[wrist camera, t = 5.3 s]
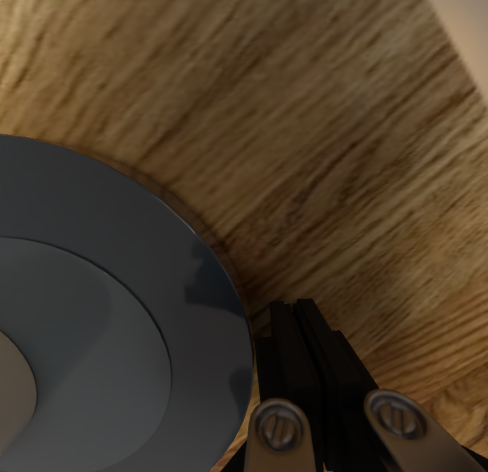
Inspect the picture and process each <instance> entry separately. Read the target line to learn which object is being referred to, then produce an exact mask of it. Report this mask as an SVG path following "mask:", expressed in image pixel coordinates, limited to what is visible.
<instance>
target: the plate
mask: <svg viewBox="0 0 488 472" xmlns="http://www.w3.org/2000/svg"><path fill="white" fill-rule="evenodd" d="M0 331H1V332H2V333H3V334H5V335H6V336H7V337H8V338H9V339H10V340H11V341H12V342H13V343H14V344H15V345H16V346H17V348H18V349H19V350H20V351H21V353H22V354H23V355H24V357H25V359H26V360H27V362H28V364H29V366H30V368H31V370H32V372H33V375H34V379H35V382H36V389H37V401H36V406H35V410H34V413H33V415H32V418H31V420H30V422H29V423H28V425H27V426H26V427H25V429H24V430H23V431H22V432H21V433H20V435H19V436H18V437H17V438H16V439H15V440H14V442H13V443H12V444H11V445H10V446H9V447H8V449H7V450H6V451H5V452H4V453H3V454H2V456H1V457H0V472H208V471H209V470H210V469H211V468H212V467H213V466H214V465H215V464H216V463H217V462H218V461H219V460H220V459H221V457H222V456H223V455H224V453H225V452H226V450H227V449H228V448H229V446H230V445H231V443H232V442H233V441H234V439H235V437H236V435H237V433H238V431H239V429H240V427H241V425H242V423H243V421H244V418H245V415H246V412H247V408H248V405H249V402H250V399H251V393H252V386H253V380H254V347H253V335H252V325H251V319H250V313H249V306H248V303H247V299H246V296H245V293H244V290H243V286H242V283H241V281H240V279H239V277H238V275H237V272H236V270H235V268H234V266H233V264H232V262H231V260H230V258H229V257H228V255H227V254H226V252H225V250H224V249H223V247H222V246H221V244H220V243H219V241H218V240H217V238H216V237H215V236H214V235H213V233H212V232H211V231H210V230H209V229H208V227H207V226H206V225H205V224H204V223H203V222H202V220H201V219H200V218H199V217H198V216H197V215H196V214H195V213H194V212H193V211H192V210H191V209H190V208H188V207H187V206H186V205H185V204H184V203H183V202H182V201H181V200H180V199H179V198H178V197H176V196H175V195H174V194H172V193H171V192H169V191H168V190H167V189H165V188H164V187H162V186H161V185H160V184H158V183H157V182H155V181H154V180H153V179H151V178H149V177H147V176H145V175H144V174H142V173H140V172H138V171H136V170H134V169H133V168H131V167H129V166H127V165H125V164H123V163H121V162H118V161H116V160H113V159H110V158H108V157H105V156H103V155H100V154H98V153H95V152H92V151H88V150H84V149H80V148H76V147H73V146H69V145H65V144H60V143H55V142H50V141H45V140H39V139H34V138H29V137H22V136H14V135H6V134H0Z"/></svg>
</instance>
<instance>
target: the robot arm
mask: <svg viewBox="0 0 488 472" xmlns="http://www.w3.org/2000/svg"><path fill="white" fill-rule="evenodd" d="M292 309H293V312H292ZM292 309H291V307H290V304H285V303H284V301H272V302H270V318H271V334H272V336H268V337H257V338H255V350H256V361H257V372H258V383H259V393H260V404H259V405H258V406H256V407H255V409H254V411H253V412H252V414H251V417H250V421H249V426H248V436H247V440H246V441H245V443H244V444H243V445H242V446H241V447H240V449H239V450H238V451H237V452H236V454H235V455H234V456H233V457H232V458H231V460H230V461H229V462H228V463H227V464H226V466H225V467H224V468H223V469H222V470H221V472H323V461H324V464H325V467H326V470H327V471H333V472H488V459H487V458H485V457H483V456H481V455H479V454H477V453H475V452H474V451H472V450H470V449H468V448H466V447H464V446H462V445H460V444H459V443H458V442H457V441H456V440H455V439H454V438H453V437H452V436H451V435H450V434H449V433H448V432H447V431H446V430H445V429H444V428H443V427H442V426H441V425H440V424H439V423H438V422H437V421H436V420H435V419H434V418H433V417H432V416H431V415H430V414H429V413H428V412H427V410H426V409H425V408H424V407H422V406H421V405H420V404H419V403H418V402H416V401H415V400H414V399H412V398H411V397H409V396H407V395H406V394H404V393H401V392H398V391H396V390H391V389H386V388H382V389H379V387H378V386H377V384H376V383H375V381H374V380H373V378H372V377H371V375H370V374H369V372H368V371H367V369H366V368H365V366H364V365H363V363H362V362H361V360H360V359H359V357H358V356H357V354H356V353H355V351H354V350H353V348H352V347H351V345H350V344H349V342H348V341H347V339H346V338H345V336H344V335H343V334H342V332H341V331H339V330H337V331H332V330H331V329H330V327H329V325H328V324H327V322H326V320H325V319H324V317H323V316H322V314H321V312H320V311H319V309H318V307H317V306H316V304H315V302H314V301H313V299H312V298H306V299H297V303H293V305H292Z"/></svg>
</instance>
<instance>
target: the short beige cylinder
mask: <svg viewBox="0 0 488 472" xmlns="http://www.w3.org/2000/svg"><path fill="white" fill-rule="evenodd" d="M36 401H37V389H36V382H35V379H34V375H33V372H32V370H31V368H30V366H29V364H28V362H27V360H26V359H25V357H24V355H23V354H22V353H21V351H20V350H19V349H18V348H17V346H16V345H15V344H14V343H13V342H12V341H11V340H10V339H9V338H8V337H7V336H6V335H5V334H3V333H2V332H1V331H0V457H1V456H2V454H3V453H4V452H5V451H6V450H7V449H8V447H9V446H10V445H11V444H12V443H13V442H14V440H15V439H16V438H17V437H18V436H19V435H20V433H21V432H22V431H23V430H24V429H25V427H26V426H27V425H28V423H29V422H30V420H31V418H32V415H33V413H34V410H35V406H36Z"/></svg>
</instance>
